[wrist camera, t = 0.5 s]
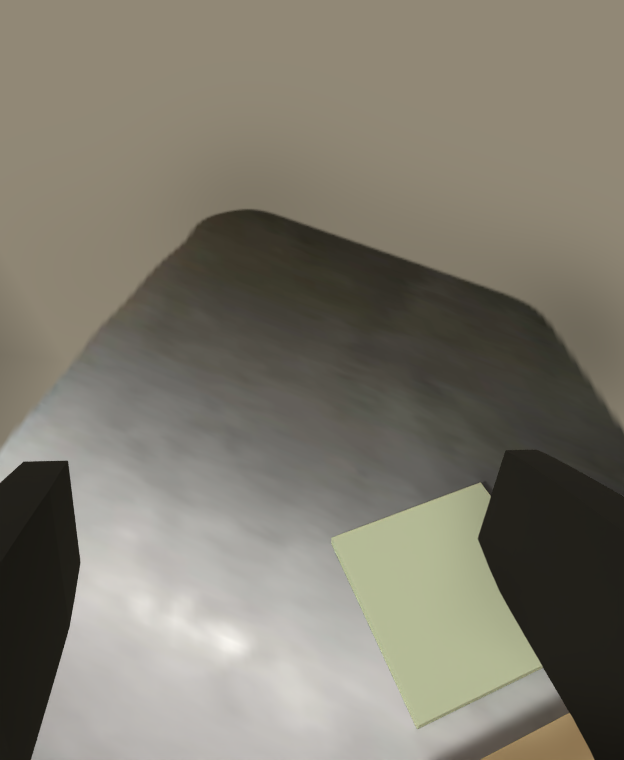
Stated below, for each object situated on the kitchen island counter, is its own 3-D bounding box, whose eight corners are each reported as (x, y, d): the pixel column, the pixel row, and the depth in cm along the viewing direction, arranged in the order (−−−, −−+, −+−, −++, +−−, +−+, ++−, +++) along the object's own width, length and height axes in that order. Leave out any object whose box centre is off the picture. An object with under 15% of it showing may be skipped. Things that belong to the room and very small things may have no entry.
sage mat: (591, 644, 25) (596, 638, 24) (417, 729, 22) (418, 725, 22) (478, 488, 31) (480, 482, 30) (331, 543, 28) (331, 537, 28)
